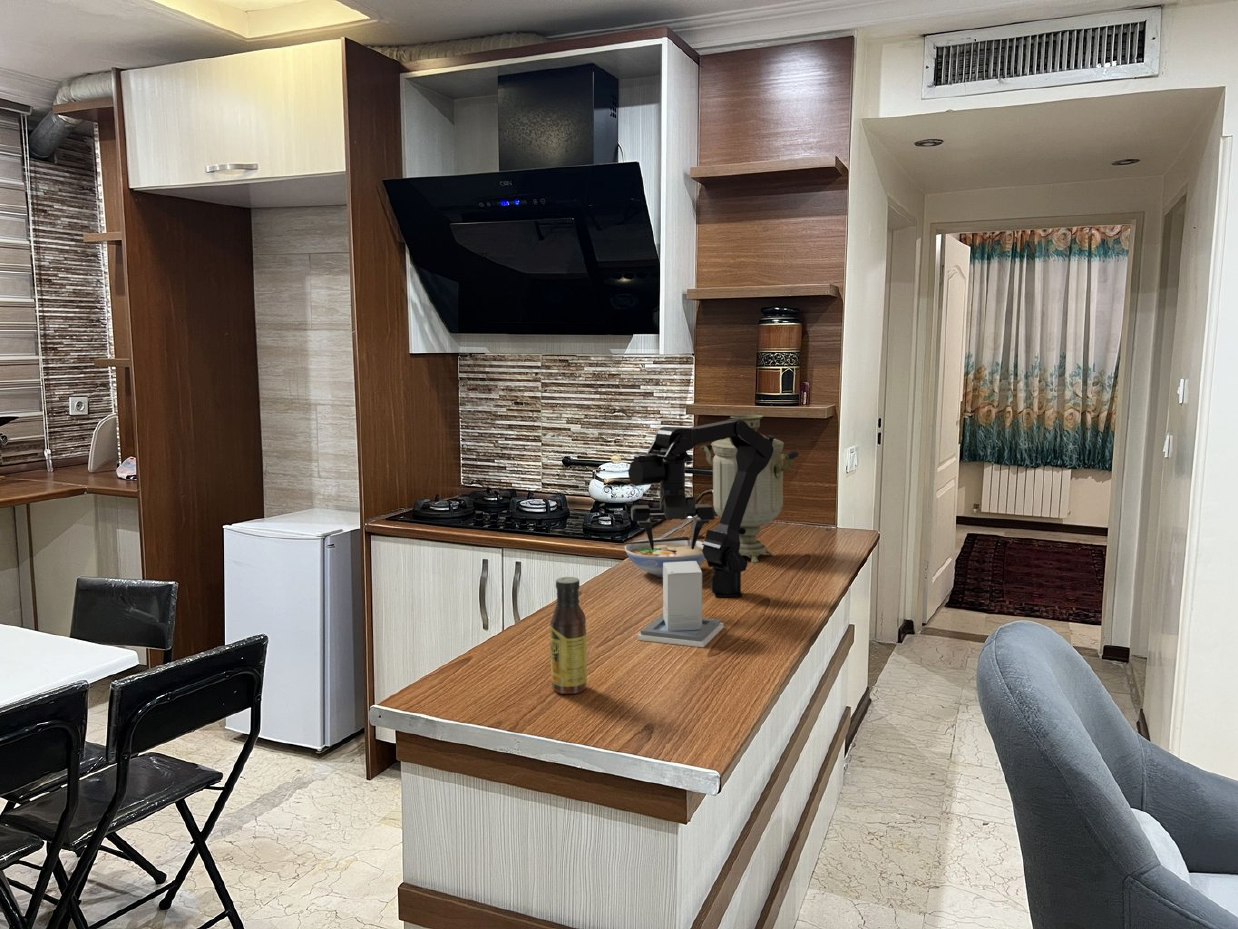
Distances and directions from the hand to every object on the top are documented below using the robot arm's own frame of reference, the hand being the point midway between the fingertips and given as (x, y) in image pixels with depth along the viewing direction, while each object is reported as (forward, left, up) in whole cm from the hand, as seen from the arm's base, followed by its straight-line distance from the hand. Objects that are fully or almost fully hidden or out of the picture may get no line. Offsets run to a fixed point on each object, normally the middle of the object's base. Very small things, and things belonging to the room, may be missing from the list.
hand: (672, 549), depth 213 cm
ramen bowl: (-2, -29, -13) cm, 32 cm away
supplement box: (0, +20, -12) cm, 23 cm away
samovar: (-29, -48, -13) cm, 58 cm away
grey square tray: (+1, +22, -13) cm, 25 cm away
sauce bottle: (+24, +52, -13) cm, 59 cm away
